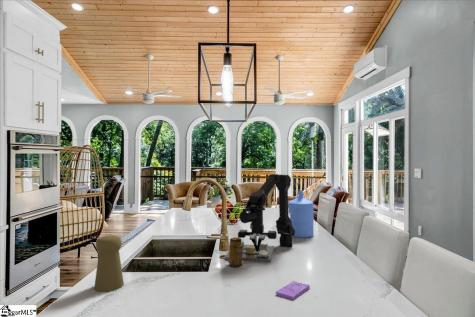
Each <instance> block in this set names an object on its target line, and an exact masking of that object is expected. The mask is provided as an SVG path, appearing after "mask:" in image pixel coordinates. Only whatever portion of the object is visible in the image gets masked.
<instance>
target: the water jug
mask: <svg viewBox="0 0 475 317" xmlns="http://www.w3.org/2000/svg"><path fill="white" fill-rule="evenodd" d="M297 192H298V193H297V197H296V198H294V199H292V200H289V201H288V214H289V218H290V220H291V221H292V226H293V228H294V229H295V235H294V236H292V238H293V237H294V238H299V239H301V238H302V239H304V238H305V239H306V238H312V237H313V236H314V235H315V234H314V232H315V231H314V220H315V219H314V202H313V201H311V200H309V199H307V198H305V197H304V191H303V190H298V191H297Z"/></svg>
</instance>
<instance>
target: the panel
mask: <svg viewBox="0 0 475 317" xmlns="http://www.w3.org/2000/svg"><path fill="white" fill-rule="evenodd" d="M247 246H254V244H245V241H243V242H242V262H252V263H253V262H254V263H256V262H257V263H271V261H272V260H273V259H272V258H273V255H274V252H275V248H276V247H275V246H276V245H268V249H267V251H268V255H265V257H262V255H259V251H260V250H259V251H258V252H256V249H255V253H254V254H248V253H246V247H247ZM224 260H225V261H229V251H228V252H227V253H226V255H224Z"/></svg>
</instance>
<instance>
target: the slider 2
mask: <svg viewBox="0 0 475 317" xmlns="http://www.w3.org/2000/svg"><path fill="white" fill-rule="evenodd" d="M268 246H269V245H268V242H261V244H260V247H259V250H267V249H268Z"/></svg>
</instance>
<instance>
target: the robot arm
mask: <svg viewBox="0 0 475 317" xmlns="http://www.w3.org/2000/svg"><path fill="white" fill-rule="evenodd" d="M291 182H292V178H291V176H290V175H289V174H278V173H271V174H269V175H268V178H267V179H266V181H264V182H263V184H262V186H261V187H260V188H259V189H258V190H256V191H254V192H253V193H252V194H251V195H250V196H249V197H248V201H247V203H246V205H245V207H244V208H242V211H241V212H240V213H239V217H238V218H239V220H240V222H241V223H242V224H248V223H250V226H249V227H250V230H251V231H248V229H240V230H239V231H238V232H237V238H241V239H244V238H245V237H247V236H248V237H249V241H251V242H252V245H254V246H255V249H256V252H258V251H259V247H260V244H261V243H263V242H262V241H265V239H266V237H267V238H268V239H269V240H276V239H277V235H280V236H279V246H280V247H281V248H282V247H286V248H293V245H294V244H293V236H294V235H295V229H294V228H293V226H292V221H291V220H290V215H289V208H288V205H289V190H290V188H291V185H292V184H291ZM274 187H276V189H277V190H278V207H279V208H278V209H279V210H278V211H279V216H278V218H277V219H276V221H275V223H276V224H275V228H276V230H268V232H266V231H265V227H264V211H266V208H265V207H264V205H265V204H266V202H267V200H268V199H267V196H268V195H269V193H270V192H271V191H272V189H273V188H274Z"/></svg>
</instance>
